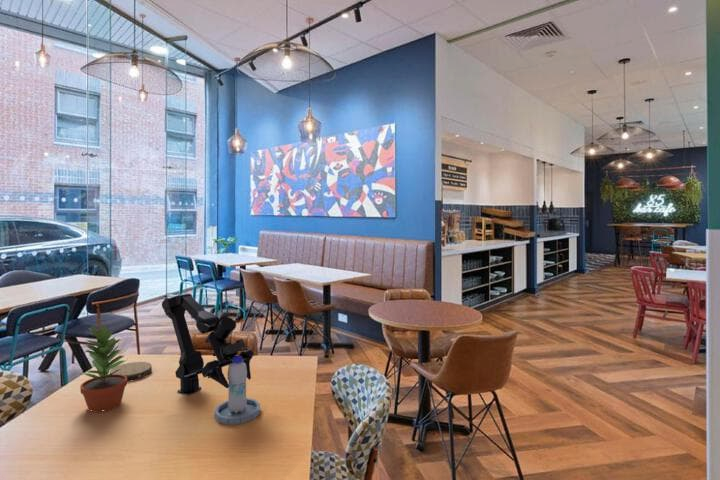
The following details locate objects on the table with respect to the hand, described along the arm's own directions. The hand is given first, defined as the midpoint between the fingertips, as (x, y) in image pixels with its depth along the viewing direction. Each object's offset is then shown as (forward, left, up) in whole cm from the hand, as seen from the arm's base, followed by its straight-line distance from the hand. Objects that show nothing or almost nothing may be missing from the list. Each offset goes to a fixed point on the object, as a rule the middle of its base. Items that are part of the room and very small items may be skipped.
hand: (239, 383), depth 139 cm
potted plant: (-50, -13, -11) cm, 53 cm away
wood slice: (-67, +11, -12) cm, 69 cm away
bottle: (-1, 0, -11) cm, 11 cm away
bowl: (-1, 0, -11) cm, 11 cm away
